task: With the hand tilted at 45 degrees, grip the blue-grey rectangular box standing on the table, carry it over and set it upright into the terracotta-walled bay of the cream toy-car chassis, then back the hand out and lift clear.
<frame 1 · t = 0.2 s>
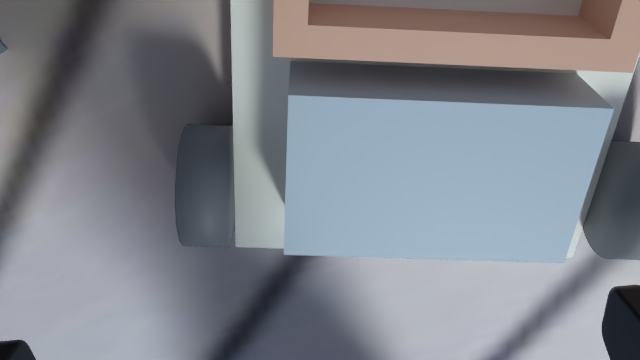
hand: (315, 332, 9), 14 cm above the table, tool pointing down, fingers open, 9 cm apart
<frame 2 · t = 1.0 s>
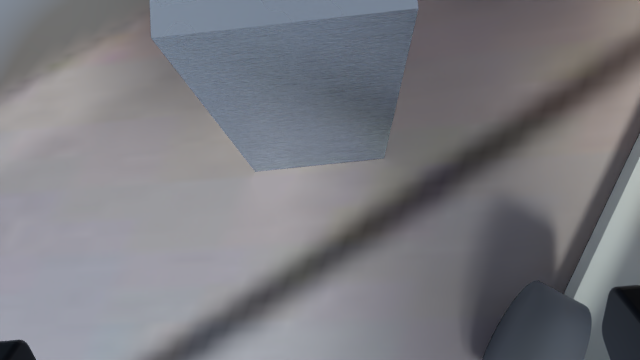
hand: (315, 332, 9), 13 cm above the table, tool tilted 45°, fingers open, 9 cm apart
blue-grey rectangular box: (313, 103, 24), on the table
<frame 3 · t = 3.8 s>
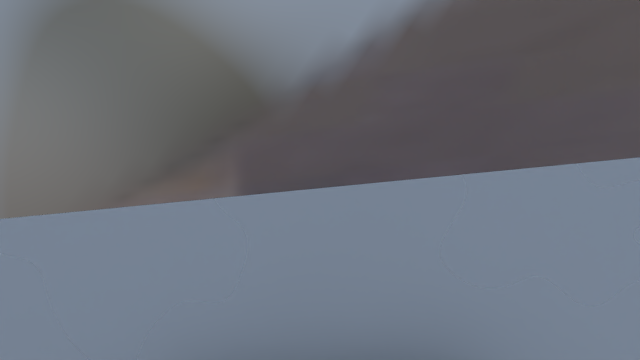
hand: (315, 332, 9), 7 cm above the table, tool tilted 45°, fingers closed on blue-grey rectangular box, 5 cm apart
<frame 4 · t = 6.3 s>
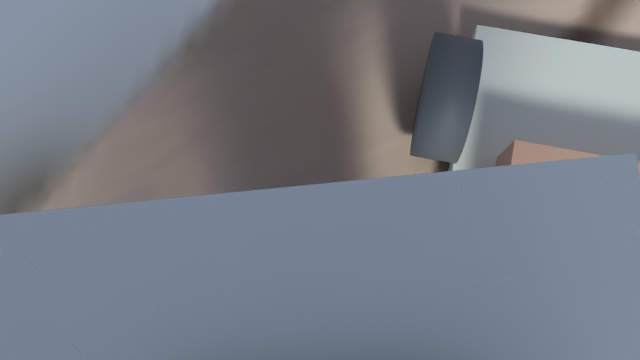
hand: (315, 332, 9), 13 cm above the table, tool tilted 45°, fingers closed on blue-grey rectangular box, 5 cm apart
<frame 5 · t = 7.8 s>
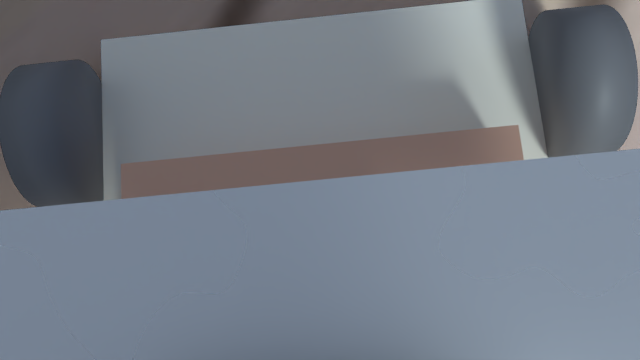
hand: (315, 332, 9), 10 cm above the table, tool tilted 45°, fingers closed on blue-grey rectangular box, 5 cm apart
when the fingers open (9 cm above the table, at t = 8.9 s): blue-grey rectangular box drops 1 cm, resting on chassis.
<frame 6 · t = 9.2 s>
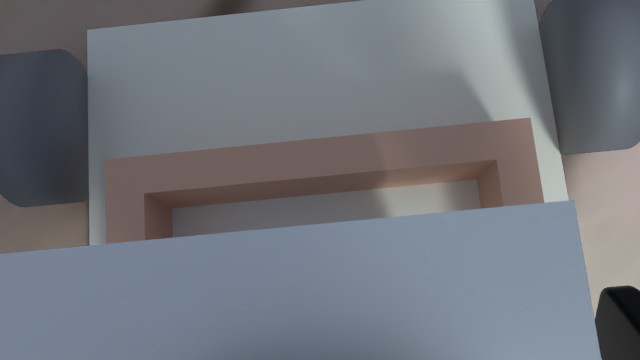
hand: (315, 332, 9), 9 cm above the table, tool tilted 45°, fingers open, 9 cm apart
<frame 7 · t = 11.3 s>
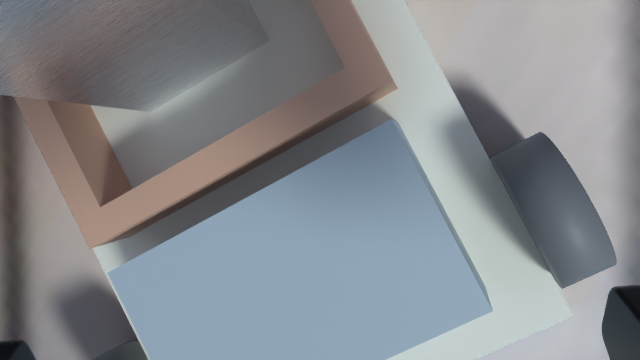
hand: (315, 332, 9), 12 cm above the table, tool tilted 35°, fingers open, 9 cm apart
chassis: (216, 69, 22), on the table
blue-grey rectangular box: (176, 14, 21), point 1 cm above the table, touching chassis
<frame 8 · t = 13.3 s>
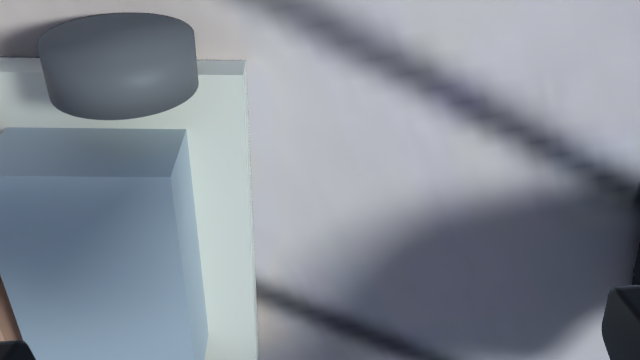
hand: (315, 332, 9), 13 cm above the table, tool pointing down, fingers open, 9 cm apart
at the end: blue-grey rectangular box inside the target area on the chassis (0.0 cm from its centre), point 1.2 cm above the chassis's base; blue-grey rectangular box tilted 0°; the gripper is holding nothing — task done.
